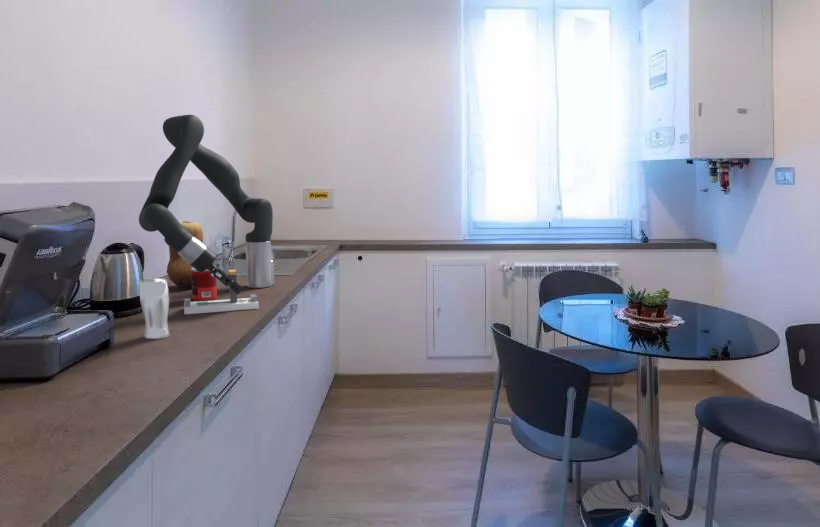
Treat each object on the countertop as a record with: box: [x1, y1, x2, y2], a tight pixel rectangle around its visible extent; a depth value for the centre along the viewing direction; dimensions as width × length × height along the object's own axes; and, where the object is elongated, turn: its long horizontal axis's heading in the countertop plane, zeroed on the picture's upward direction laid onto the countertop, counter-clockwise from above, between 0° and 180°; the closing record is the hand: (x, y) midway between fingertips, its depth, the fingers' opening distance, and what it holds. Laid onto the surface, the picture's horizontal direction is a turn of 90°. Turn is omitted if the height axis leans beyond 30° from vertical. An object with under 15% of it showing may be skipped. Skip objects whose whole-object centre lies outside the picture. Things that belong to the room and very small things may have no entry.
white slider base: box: [183, 293, 260, 315], centre depth 183 cm, size 22×8×4 cm, turn 111°
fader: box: [228, 269, 238, 302], centre depth 183 cm, size 2×4×10 cm, turn 21°
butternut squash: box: [166, 220, 204, 289], centre depth 216 cm, size 14×13×25 cm
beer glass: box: [139, 277, 171, 340], centre depth 150 cm, size 7×7×15 cm
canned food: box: [191, 268, 218, 302], centre depth 195 cm, size 8×8×11 cm
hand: (239, 290), depth 184 cm, fingers closed on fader, 4 cm apart
